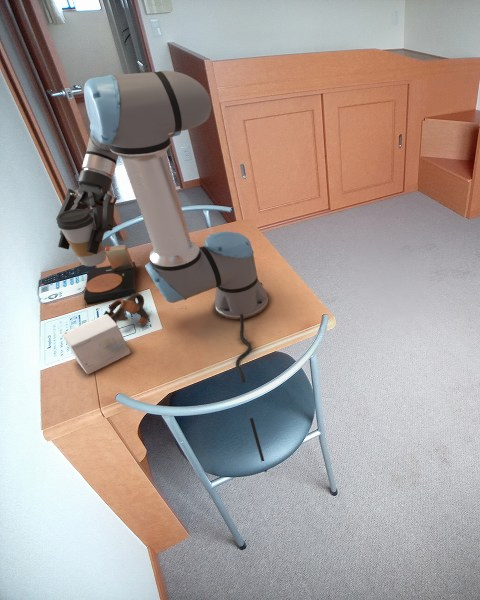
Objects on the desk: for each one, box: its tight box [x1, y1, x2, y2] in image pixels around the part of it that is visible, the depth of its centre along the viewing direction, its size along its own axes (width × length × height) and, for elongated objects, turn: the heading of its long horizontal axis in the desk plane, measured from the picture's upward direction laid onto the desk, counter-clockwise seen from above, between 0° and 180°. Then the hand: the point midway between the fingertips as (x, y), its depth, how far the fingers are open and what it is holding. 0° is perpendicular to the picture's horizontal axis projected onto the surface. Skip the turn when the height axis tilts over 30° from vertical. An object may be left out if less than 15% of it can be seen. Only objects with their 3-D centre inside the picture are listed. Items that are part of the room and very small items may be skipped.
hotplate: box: [83, 261, 140, 306], centre depth 134 cm, size 18×15×3 cm
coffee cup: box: [56, 209, 107, 267], centre depth 121 cm, size 8×8×15 cm
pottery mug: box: [103, 292, 150, 327], centre depth 121 cm, size 12×10×8 cm
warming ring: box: [85, 274, 122, 293], centre depth 131 cm, size 10×10×1 cm
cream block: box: [104, 244, 134, 272], centre depth 135 cm, size 6×3×8 cm, turn 115°
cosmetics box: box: [61, 314, 131, 375], centre depth 107 cm, size 10×6×10 cm, turn 140°
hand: (77, 250), depth 120 cm, fingers closed on coffee cup, 8 cm apart
